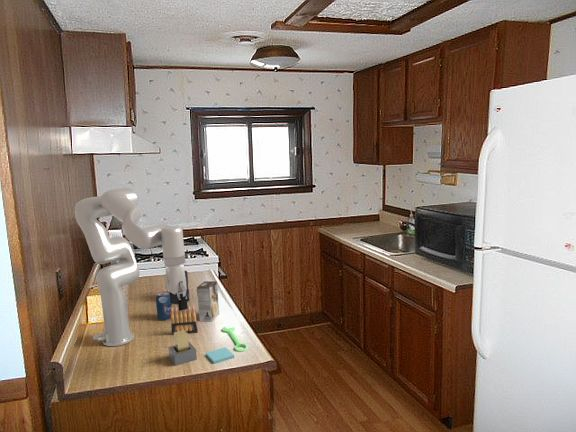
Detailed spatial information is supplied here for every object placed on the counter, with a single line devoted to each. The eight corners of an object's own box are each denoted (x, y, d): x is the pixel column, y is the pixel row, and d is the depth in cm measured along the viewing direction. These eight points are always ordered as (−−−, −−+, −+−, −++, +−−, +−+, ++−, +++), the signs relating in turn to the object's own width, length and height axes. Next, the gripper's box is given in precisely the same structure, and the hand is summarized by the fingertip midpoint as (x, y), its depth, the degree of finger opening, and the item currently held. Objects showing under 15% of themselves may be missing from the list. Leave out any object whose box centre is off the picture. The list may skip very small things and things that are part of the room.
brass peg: (179, 361, 165) (177, 336, 163) (175, 357, 168) (173, 332, 166) (189, 358, 167) (187, 333, 165) (186, 354, 170) (184, 329, 168)
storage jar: (166, 303, 227) (163, 275, 224) (175, 297, 236) (173, 269, 234) (184, 304, 224) (182, 275, 222) (193, 298, 234) (190, 270, 231)
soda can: (168, 321, 204) (166, 296, 202) (154, 320, 205) (152, 295, 203) (175, 315, 210) (173, 291, 208) (162, 315, 212) (159, 290, 210)
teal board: (214, 363, 162) (213, 361, 162) (206, 355, 169) (205, 352, 169) (234, 357, 166) (234, 355, 166) (225, 349, 173) (225, 347, 173)
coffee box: (206, 313, 211) (204, 280, 209) (219, 314, 210) (217, 281, 207) (199, 321, 202) (196, 287, 200) (212, 321, 201) (209, 287, 198)
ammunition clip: (171, 335, 188) (169, 308, 187) (172, 333, 190) (169, 306, 188) (197, 332, 190) (195, 305, 188) (197, 331, 192) (195, 304, 190)
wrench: (233, 328, 195) (220, 331, 193) (232, 324, 194) (220, 326, 193) (249, 351, 172) (236, 354, 170) (249, 346, 171) (236, 349, 170)
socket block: (175, 365, 162) (174, 355, 161) (169, 357, 169) (168, 347, 168) (196, 359, 166) (195, 349, 165) (189, 351, 173) (188, 341, 172)
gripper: (157, 258, 167) (162, 302, 169) (171, 267, 152) (176, 315, 155) (177, 254, 171) (181, 297, 173) (192, 263, 156) (196, 310, 158)
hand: (179, 306), depth 164 cm, fingers open, 9 cm apart
